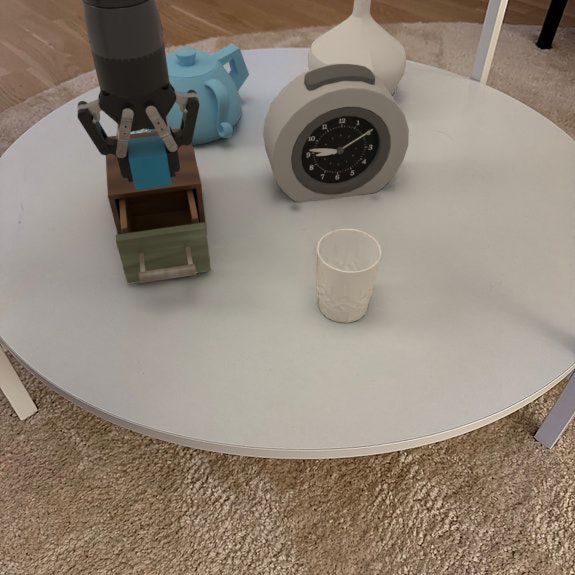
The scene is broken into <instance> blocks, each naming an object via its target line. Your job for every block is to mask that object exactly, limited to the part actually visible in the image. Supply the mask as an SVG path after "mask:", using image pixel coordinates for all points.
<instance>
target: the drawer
mask: <svg viewBox="0 0 575 575" xmlns="http://www.w3.org/2000/svg"><path fill="white" fill-rule="evenodd" d="M119 206H120V220H121V230H122V234H119V235H118V234H115V242H116V246H117V250H118V254H119V258H120V261H121V265H122V269H123V273H124V276H125V281H126V284H127V285H128V284H134V283H140V284H144V283H151V282H157V281H164V280H170V279H176V278H182V277H189V276H196V275H197V273H198V274H199V273H204V272H210V271H212V268H211V259H210V252H209V241H208V231H207V232H206V229H207V225H206V226H205V222H203V223H199V220H198V214H197V210H196V205H195V200H194V195H193V190H192V189H188V190H180V191H173V192H165V193H158V194H150V195H143V196H135V197H127V198H120V199H119Z"/></svg>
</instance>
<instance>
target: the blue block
mask: <svg viewBox="0 0 575 575" xmlns="http://www.w3.org/2000/svg"><path fill="white" fill-rule="evenodd" d="M128 157H129V163H130V168H131V172H132V177H133V182H134V186H135V189H136V190H137V189H144V188H152V187H160V186H167V185H171V178H170V172H169V166H168V160H167V153H166V147H165V143H164V142H163V140H162V138H160V136H151V137H143V138H134V139H129V142H128Z"/></svg>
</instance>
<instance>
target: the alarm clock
mask: <svg viewBox="0 0 575 575" xmlns="http://www.w3.org/2000/svg"><path fill="white" fill-rule="evenodd" d="M406 118H407V117H406V115H405V114H404V111H403V110H402V108H401V107H400V106H399V104H398V103H397V101H396V99H395V98H394V97H393V95H392V94H391V93H390V92H389V90H388V89H387V88H386V86H385V85H384V83H383V82H382V80H381V79H380V78H378V77H377V76H376V75H374V74H373V73H372V71H371V70H370V69H368V68H367V67H364V66H360V65H353V64H329V65H325V66H320V67H315V68H313V69H311V70H309V69H308V70H307V71H305V72H302V73H301V74H299V75H297V76H296V77H295V78H294V79H292V80H291V81H290V82H288V83H287V84H286V85H285V86H284V87H282V88H281V90H280V91H279V92H278V94H277V95H276V97H275V98H274V99H273V101H272V102H271V104H270V106H269V108H268V111H267V113H266V116H265V118H264V124H263V131H262V137H263V144H264V149H265V153H266V155H267V159H268V162H269V165H270V168H271V171H272V174H273V177H274V179H275V180H276V182H277V185H278V186H279V189H280V190H281V191H283V192H284V193H285V195H287V197H289V198H290V199H291V200H292V201H295V202H296V203H305V202H313V201H314V202H315V201H321V200H329V199H335V198H336V199H337V198H345V197H353V196H359V195H361V196H362V195H367V194H375V193H378V192H379V191H380V190H382V189H383V188H384V187H385V186H386V185H387V184H388V183H389V182H390V181H391V180H392V179H393V178H394V177H395V176H396V174H397V172H398V170H399V169H400V167H401V165H402V164H403V162H404V160H405V157H406V153H407V151H408V148H409V139H410V138H409V136H410V129H409V126H408V125H409V124H408V122H407V119H406Z"/></svg>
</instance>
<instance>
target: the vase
mask: <svg viewBox="0 0 575 575" xmlns="http://www.w3.org/2000/svg"><path fill="white" fill-rule="evenodd" d="M371 4H372V0H353V7H352V9H353V10H352V13H351V14H350V16H348V17H347V18H346V19H345V20H343V21H342V22H340V23H339V24H337V25H336V26H335V27H333V28H331V29H330V30H328V31H326V32H324V33H322V34H321V35H320V36H318V37H316V39H315V40H313V42H312V44H311V45H310V47H309V51H308V54H307V69H308V71H309V70H311V69H313V68H315V67H320V66H325V65H329V64H353V65H360V66H364V67H367V68H368V69H370V70H371V71H372V73H373V74H374V75H376V76H377V77H378V78H380V79H381V80H382V82H383V83H384V85H385V86H386V88H387V89H388V90H389V92H390V93H391V95H392V94H393V93H394V91H395V90H396V88H397V87H398V85H399V84H400V81H402V79H403V77H404V75H405V71H406V66H407V54H406V50H405V48H404V46H403V44H402V43H401V42H399V40H397V39H396V38H395V37H393V35H392V34H390V33H389V32H388V31H387V30H385V29H384V27H382V26H381V25H380V24H378V22H377V21H375V20H374V18H373V16H372V15H371Z"/></svg>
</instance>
